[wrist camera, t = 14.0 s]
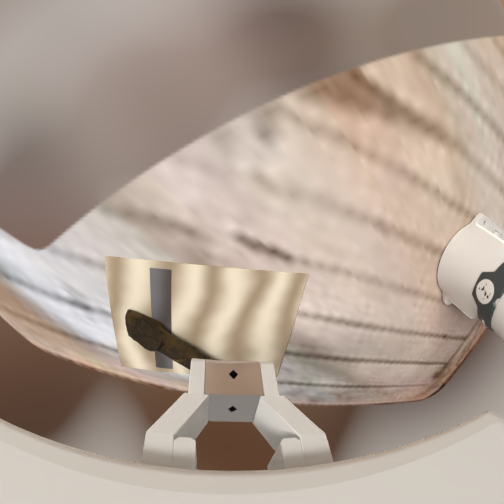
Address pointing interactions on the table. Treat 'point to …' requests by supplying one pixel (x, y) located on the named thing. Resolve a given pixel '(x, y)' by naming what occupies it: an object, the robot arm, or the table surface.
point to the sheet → (204, 310)
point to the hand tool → (160, 339)
